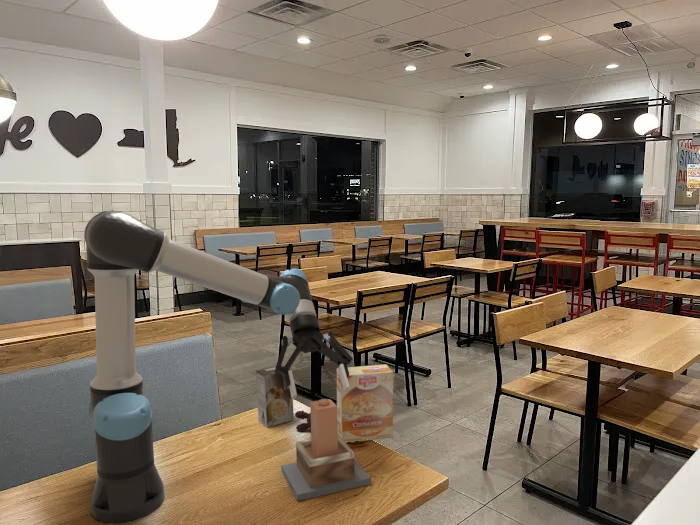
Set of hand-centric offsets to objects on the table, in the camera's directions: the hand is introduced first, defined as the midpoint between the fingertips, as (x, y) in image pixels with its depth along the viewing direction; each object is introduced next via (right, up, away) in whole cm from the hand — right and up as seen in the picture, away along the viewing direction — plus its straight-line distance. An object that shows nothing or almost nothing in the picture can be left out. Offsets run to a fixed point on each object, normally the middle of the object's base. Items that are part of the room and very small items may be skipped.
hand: (321, 393), depth 129 cm
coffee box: (-16, -16, +31) cm, 38 cm away
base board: (+1, -20, -2) cm, 20 cm away
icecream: (-1, -17, +24) cm, 29 cm away
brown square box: (+1, -18, -2) cm, 19 cm away
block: (+1, -13, -3) cm, 14 cm away
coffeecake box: (+11, -17, +20) cm, 29 cm away
